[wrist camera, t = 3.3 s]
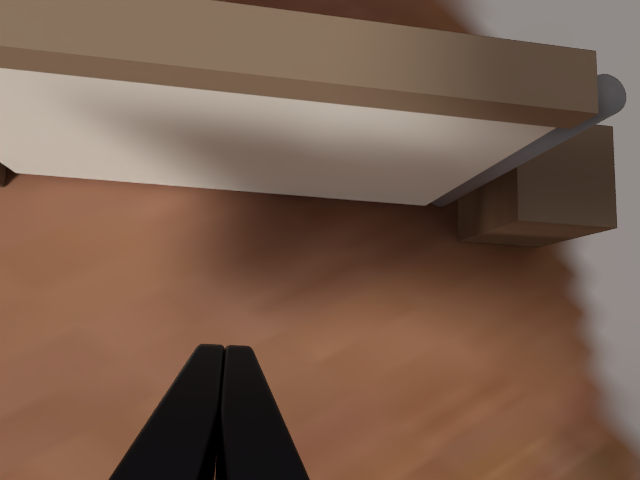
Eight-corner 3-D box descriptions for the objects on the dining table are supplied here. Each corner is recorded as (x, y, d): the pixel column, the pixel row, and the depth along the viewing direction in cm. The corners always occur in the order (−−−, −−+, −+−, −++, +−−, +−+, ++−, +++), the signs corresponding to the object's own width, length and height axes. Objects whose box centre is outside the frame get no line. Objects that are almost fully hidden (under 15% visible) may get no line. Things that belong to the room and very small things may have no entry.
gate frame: (537, 247, 19) (617, 227, 15) (-57, 205, 16) (-150, 168, 12) (536, 165, 19) (612, 126, 16) (-42, 110, 16) (-128, 45, 13)
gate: (450, 213, 18) (642, 118, 10) (15, 179, 16) (-232, 19, 8) (450, 179, 18) (640, 57, 10) (20, 141, 16) (-216, -57, 8)
